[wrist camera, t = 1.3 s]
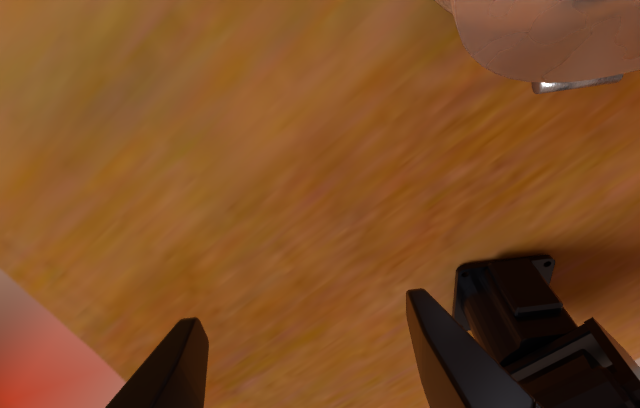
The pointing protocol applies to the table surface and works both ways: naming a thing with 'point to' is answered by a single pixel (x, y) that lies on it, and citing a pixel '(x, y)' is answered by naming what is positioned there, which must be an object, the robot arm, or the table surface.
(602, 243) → the table surface
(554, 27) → the cooker lid
